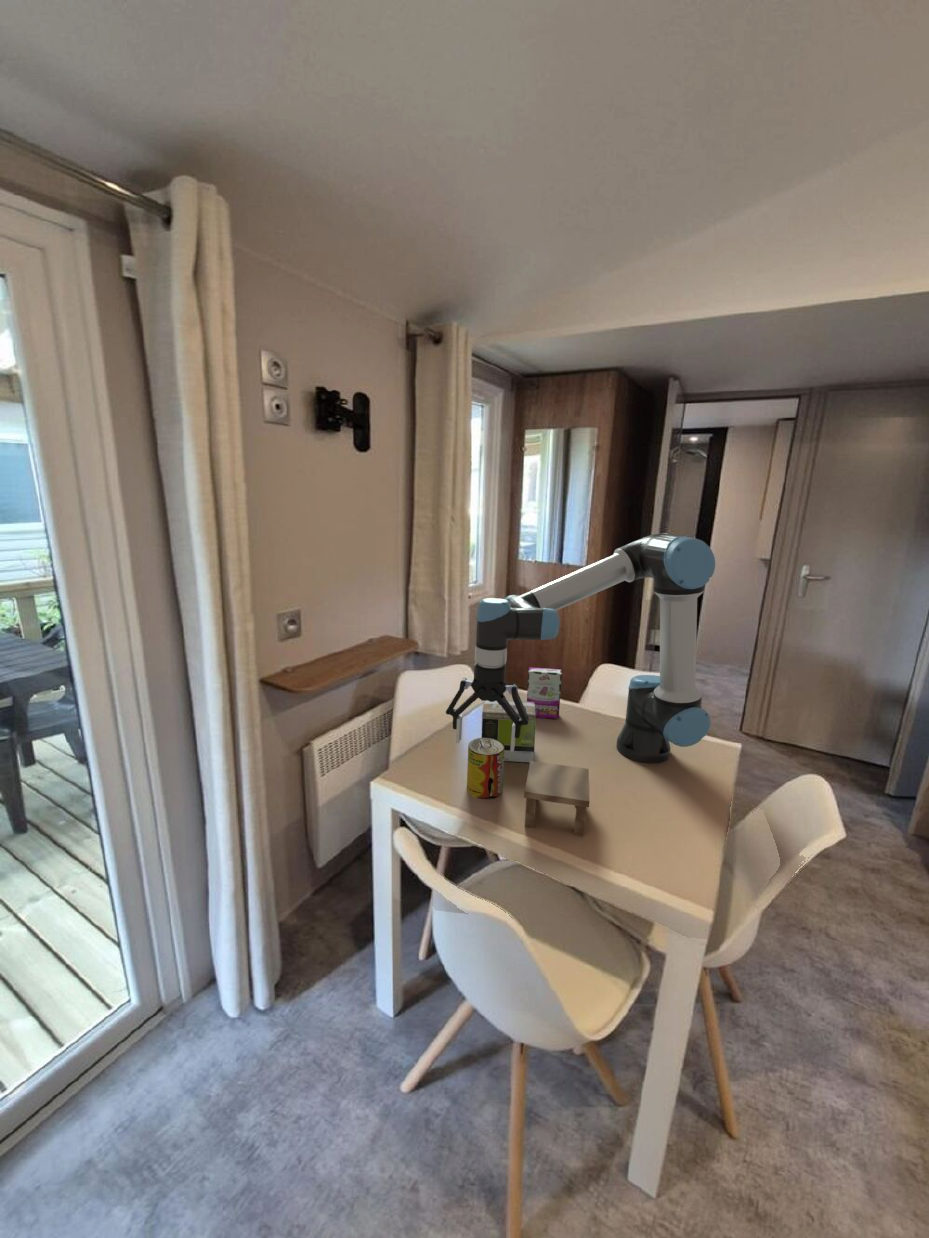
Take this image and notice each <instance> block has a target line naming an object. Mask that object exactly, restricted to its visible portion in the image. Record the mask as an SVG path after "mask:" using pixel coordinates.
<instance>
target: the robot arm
mask: <svg viewBox="0 0 929 1238" xmlns="http://www.w3.org/2000/svg"><path fill="white" fill-rule="evenodd" d="M714 554H715V553H714V551H713V550H712V549H711V547H710V546H709V545H708V544H707V543H706V542H705V541H704V540H702V539H699V538H694V537H692V536H688V535H685V536H684V535H676V534H667V533H654V534H651V535H646V536H644V537H641V538H639V539H637V540H634V541H632V542H630V543H627V544H625V545H623V546H620V547H618V548H616V549H615V550H614V552H613V554H612V555H610V556H608V557H605V558H603V559H600V560H598V561H596V562H593V563H591V564H589V565H587V566H584V567H582V568H579V569H577V570H576V571H573V572H571V573H569V574H567V575H564V576H562V577H560V578H558V579H555V580H553V581H551V582H548V583H546V584H543V585H542V586H539V587H537V588H535V589H533V590H530V591H527V592H525V593H523V594H520V595H519V594H512V595H511V594H510V595H508V596H505V598H497V597H487V598H483V599H481V600H480V601H479V602H478V605H477V606H478V607H477V612H476V613H477V614H476V617H475V618H476V631H475V632H476V634H475V644H474V645H475V648H474V649H475V650H474V662H475V663H474V667H473V668H474V669H473V680H469V679H468V678H467V677H463V678H462V679H461V681H460V683H459V689H458V691H457V692H456V694H455V695H454V697H453V699H452V700H451V702H450V704H449V706H448V707H447V709H446V710H445V714H446V715H450V716H451V717H452V729H453V730H456V732H455V733H456V735H455V744H460V742H461V741H462V733H463V732H462V730H463V727H462V726H463V714H462V713H463V712H464V711H465V710H466V709H467V708H469V706H471V705H472V704H473V703H475V702H476V700H478V699H479V700H480V701H482V702H484V701H490V702H494V701H497V702H498V703H499V705H501V706H502V708H503V709H504V710H505V712H506V713H507V714H508V716H509V717H510V718H511V720H512V721H513V725H512V735H511V748H510V751H514V747H515V738H519V737H520V730H521V725H527V724H528V721H529V717H528V715H527V713H526V710H525V708H524V706H523V703H522V699H521V696H520V694H519V688H518V687H519V685H518V684H517V683H513V685H511V684H510V685H507V684H506V670H507V669H506V668H507V665H506V664H507V656H508V641H509V640H513V641H515V640H516V641H517V640H519V641H520V640H523V641H524V640H526V641H527V640H528V641H529V640H531V641H532V640H535V641H536V640H538V641H539V640H540V641H543V640H553V639H555V638H556V637H557V635H558V634H559V631H560V615H559V613H558V612H557V611H559V610H560V609H563V608H565V607H568V606H570V605H572V604H574V603H577V602H580V601H581V600H583V599H586V598H588V597H590V596H591V597H592V595H595V594H597V593H599V592H600V593H601V592H602V591H605V590H606V589H608V588H612V587H613V586H615V585H618V584H620V583H622V582H624V581H625V582H627V583H632V582H634V581H637V580H639V579H640V580H641V579H645V578H651V579H652V580H653V581H652V583H653V584H652V585H653V594H655V595H656V596H657V597H658V598H659V675H655V674H654V675H653V674H640V675H639V674H638V675H635V676H633V677H631V679H630V681H629V685H628V695H627V701H626V702H627V704H626V711H625V712H626V713H625V721H624V722H625V723H623V727H622V729H621V730H620V733H619V734H618V737H617V739H616V746H615V747H616V749H617V751H618V752H619V753H620V754H622V755H623V756H625V757H626V758H629V759H631V760H634V761H638V762H643V763H650V764H653V763H654V764H655V763H658V764H659V763H663V762H665V761H668V760H669V759H670V757H671V746H670V743H671V744H673V745H675V746H677V747H682V748H686V747H691V746H693V745H696V744H698V743H700V742H701V741H702V739H703V738H705V737H706V736H707V734H708V733H709V730H710V728H711V724H712V723H711V717H710V715H709V713H708V712H707V711H706V710H705V709H704V708H702V704H703V703H702V698H703V697H702V691H701V690H700V689H698V688H697V687H696V682H697V681H696V679H697V678H696V677H697V676H696V674H697V672H696V671H697V667H696V666H697V626H698V625H697V624H698V621H697V620H698V598H699V597H700V596H701V595H702V594H703V593H704V592H705V585H706V584H708V583H709V581H710V578H712V577H713V576H714V573H715V568H716V559H715V558H716V557H715V555H714ZM469 687H471V689H472V690H473V691H474V692H473V693H472V694H471V695H470V696H469V697H468V698H467V699H466V700H465V701H463V703H461V705H459V706H458V707H457V708H456V709H455V706H456V705H457V703H458V701H459V700H460V698H461V697H462V695H463V693H464V692H465V690H468V689H469ZM506 691H507V692H508V695H510V696H511V697H512V701H514V703H515V706H516V708H517V710H518V713H519V715H520V717H521V718H520V717H519V716H518V714H517V713H516V712H515V710H514V709H513V708H512V706H511V705H510V704H509V702H508V701H509V700H508V699H507V697H506V696H505V692H506Z"/></svg>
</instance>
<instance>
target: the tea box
mask: <svg viewBox="0 0 929 1238" xmlns="http://www.w3.org/2000/svg"><path fill="white" fill-rule="evenodd" d="M507 701H508V702H509V704H510V705H511V706H512V708H513V709H514V710H515V712H516V713H517V714H518V716H519V717H520V715H519V713H518V710H517V708H516V706H515V703H514V701H513V700H507ZM521 701H522V700H521ZM522 703H523V706H524V708H525V710H526V713H527V715H528V717H529V721H528V724H527V725H521V730H520V737H519V738H515V747H514V751H510V748H511V735H512V725H513V721H512V720H511V718H510V717H509V716H508V714H507V713H506V712H505V710H504V709H503V708H502V706H501V705H499V703H498V702H497V701H494V702H490V701H483V707H482V711H481V738H493V739H496V740H499V741H500V742H502V743H503V744H504V747H505V749H504V762H519V763H528V764H530V761H534V759H535V746H536V745H535V743H536V742H535V741H536V727H537V725H536V723H537V722H536V720H537V718H536V713H535V702H527V701H522ZM520 718H521V717H520Z"/></svg>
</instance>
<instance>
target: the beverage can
mask: <svg viewBox="0 0 929 1238" xmlns="http://www.w3.org/2000/svg"><path fill="white" fill-rule="evenodd" d="M467 746H468V747H467V771H466V775H467V776H466V791H467V793H468V794H469V795H470V796H471V797H474V798H476V799H480V800H492V799H493V800H494V799H495V798H497V797H499V796H500V795H501V794H502V792H503V784H504V783H503V782H504V764H505V761H504V749H505V747H504V744H503V743H502V742H500V741H499V740H496V739H493V738H482V737H477V738H475V739H474V738H473V739H472V740H470V742H468V745H467Z"/></svg>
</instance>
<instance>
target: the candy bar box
mask: <svg viewBox="0 0 929 1238" xmlns="http://www.w3.org/2000/svg"><path fill="white" fill-rule="evenodd" d="M527 673H528V674H527V690H526V691H527V693H526V702H535V713H536V719H537V718H538V719H549V720H550V719H551V720H559V717H560V706H561V705H560V704H561V691H562V678H563V677H562V676H563V673H562V669H557V668H545V667H544V668H543V667H533V666H532V667H529V668H528V672H527Z"/></svg>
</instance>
